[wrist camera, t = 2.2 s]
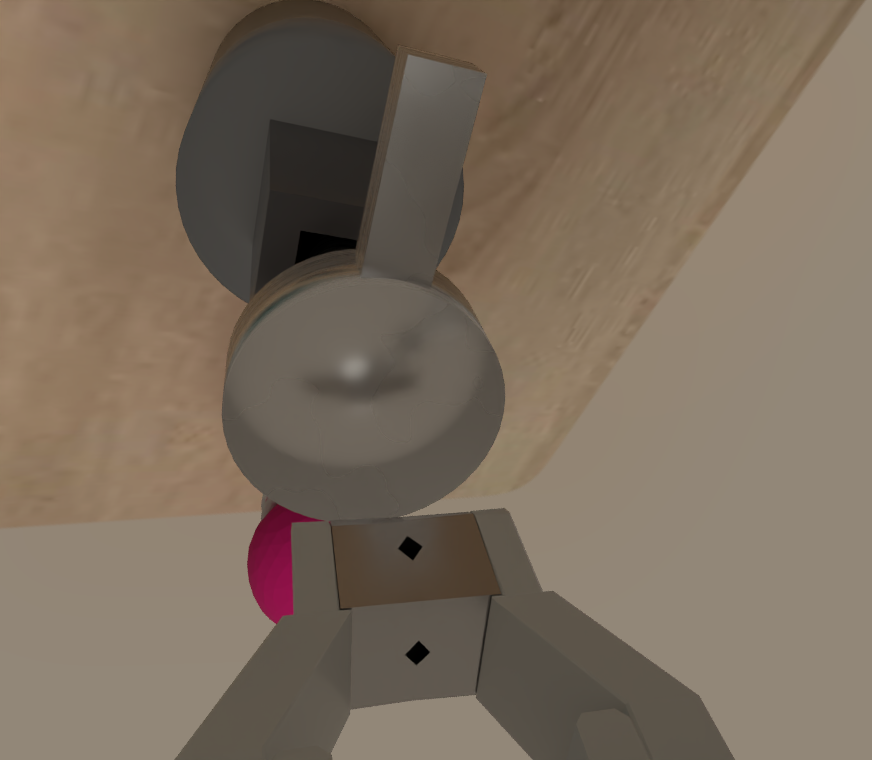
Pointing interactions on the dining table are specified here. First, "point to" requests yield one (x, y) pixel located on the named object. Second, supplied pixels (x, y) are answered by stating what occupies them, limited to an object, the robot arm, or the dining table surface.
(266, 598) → the pepper mill
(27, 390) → the dining table surface
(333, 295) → the pump head
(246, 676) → the robot arm
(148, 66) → the dining table surface
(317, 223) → the dispenser
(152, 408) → the dining table surface
